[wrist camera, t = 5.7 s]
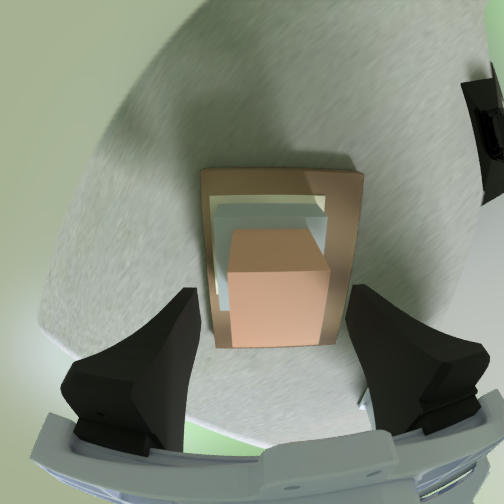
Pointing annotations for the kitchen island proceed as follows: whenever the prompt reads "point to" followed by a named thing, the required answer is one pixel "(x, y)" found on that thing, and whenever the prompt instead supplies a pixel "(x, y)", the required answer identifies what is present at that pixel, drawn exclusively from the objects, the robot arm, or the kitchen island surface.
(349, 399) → the kitchen island surface
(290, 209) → the base block
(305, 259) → the top block
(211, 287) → the build board
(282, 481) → the robot arm
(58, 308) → the kitchen island surface
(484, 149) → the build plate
